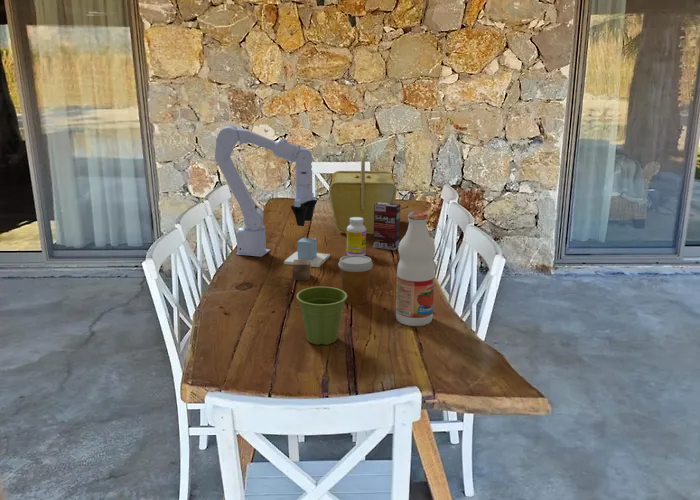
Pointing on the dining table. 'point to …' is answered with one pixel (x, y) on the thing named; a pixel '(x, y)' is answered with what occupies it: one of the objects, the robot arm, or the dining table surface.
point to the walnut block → (301, 269)
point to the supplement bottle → (356, 237)
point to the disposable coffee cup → (355, 277)
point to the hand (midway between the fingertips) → (304, 223)
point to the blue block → (307, 248)
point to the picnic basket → (359, 195)
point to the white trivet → (313, 263)
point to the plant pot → (321, 313)
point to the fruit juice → (415, 273)
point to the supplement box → (386, 225)
